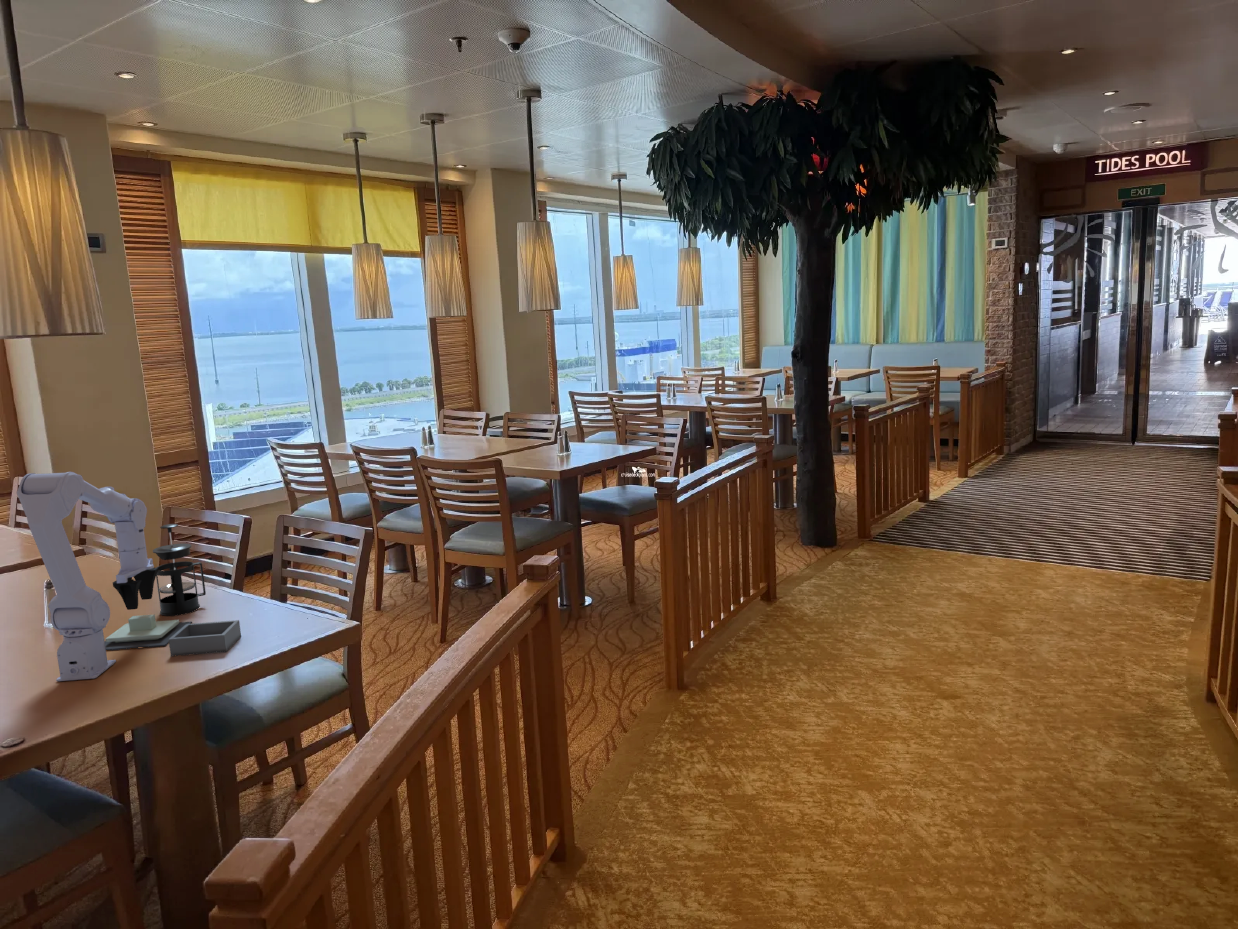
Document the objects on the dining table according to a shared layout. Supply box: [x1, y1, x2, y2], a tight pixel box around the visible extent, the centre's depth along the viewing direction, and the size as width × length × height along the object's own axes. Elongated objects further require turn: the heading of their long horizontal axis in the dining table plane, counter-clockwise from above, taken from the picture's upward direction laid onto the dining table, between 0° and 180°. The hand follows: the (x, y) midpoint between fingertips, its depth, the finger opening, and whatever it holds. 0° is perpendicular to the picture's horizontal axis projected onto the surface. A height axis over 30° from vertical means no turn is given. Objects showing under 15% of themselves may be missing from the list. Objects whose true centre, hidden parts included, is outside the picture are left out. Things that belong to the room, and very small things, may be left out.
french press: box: [152, 523, 207, 617], centre depth 223 cm, size 12×9×23 cm
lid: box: [104, 614, 180, 642], centre depth 204 cm, size 10×12×5 cm
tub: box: [168, 619, 242, 657], centre depth 196 cm, size 10×12×4 cm
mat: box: [104, 621, 193, 651], centre depth 205 cm, size 16×16×1 cm
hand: (139, 604), depth 204 cm, fingers open, 7 cm apart
